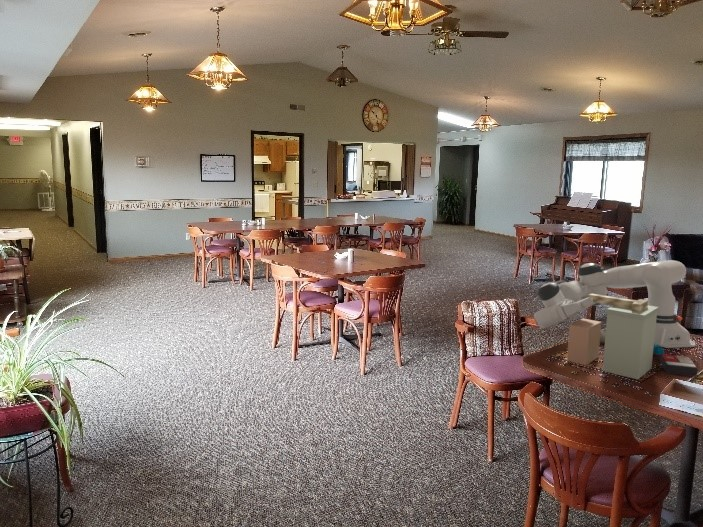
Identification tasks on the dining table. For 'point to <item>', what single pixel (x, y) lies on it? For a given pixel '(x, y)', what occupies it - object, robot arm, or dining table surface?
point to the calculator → (678, 365)
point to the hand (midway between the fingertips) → (597, 298)
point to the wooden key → (620, 302)
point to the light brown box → (584, 341)
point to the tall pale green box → (629, 341)
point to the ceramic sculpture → (602, 335)
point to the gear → (658, 350)
